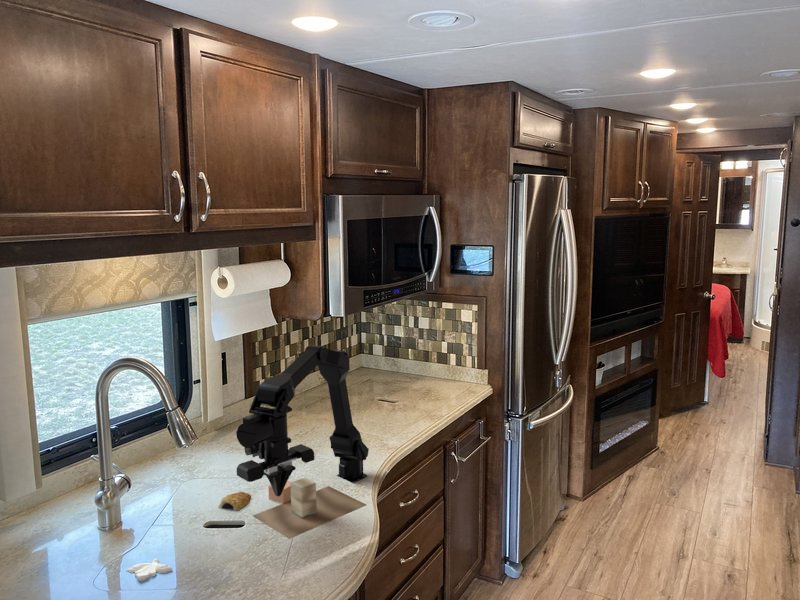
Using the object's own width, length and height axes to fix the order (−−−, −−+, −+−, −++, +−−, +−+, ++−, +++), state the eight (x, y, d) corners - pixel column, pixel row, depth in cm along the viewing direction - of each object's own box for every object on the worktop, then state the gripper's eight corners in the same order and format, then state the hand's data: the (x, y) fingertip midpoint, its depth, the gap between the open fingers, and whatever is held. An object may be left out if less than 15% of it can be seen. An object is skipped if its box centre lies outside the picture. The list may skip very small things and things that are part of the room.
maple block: (306, 506, 165) (305, 477, 163) (316, 512, 161) (315, 482, 160) (291, 512, 162) (290, 482, 160) (302, 518, 158) (300, 488, 157)
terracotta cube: (281, 496, 174) (281, 479, 173) (296, 500, 171) (295, 483, 170) (269, 503, 169) (268, 485, 169) (283, 508, 167) (282, 490, 166)
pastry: (235, 497, 174) (235, 484, 173) (257, 501, 172) (257, 487, 171) (215, 513, 165) (215, 499, 164) (239, 517, 163) (238, 502, 162)
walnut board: (328, 490, 177) (328, 486, 177) (367, 509, 166) (366, 504, 165) (252, 520, 160) (252, 515, 160) (289, 543, 149) (289, 538, 149)
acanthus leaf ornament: (172, 573, 139) (172, 565, 138) (141, 587, 134) (140, 578, 133) (156, 560, 144) (156, 552, 143) (126, 572, 139) (125, 564, 138)
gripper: (288, 417, 165) (290, 474, 168) (223, 435, 152) (226, 497, 155) (314, 427, 157) (316, 487, 160) (247, 447, 144) (251, 513, 147)
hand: (278, 495), depth 155 cm, fingers closed
